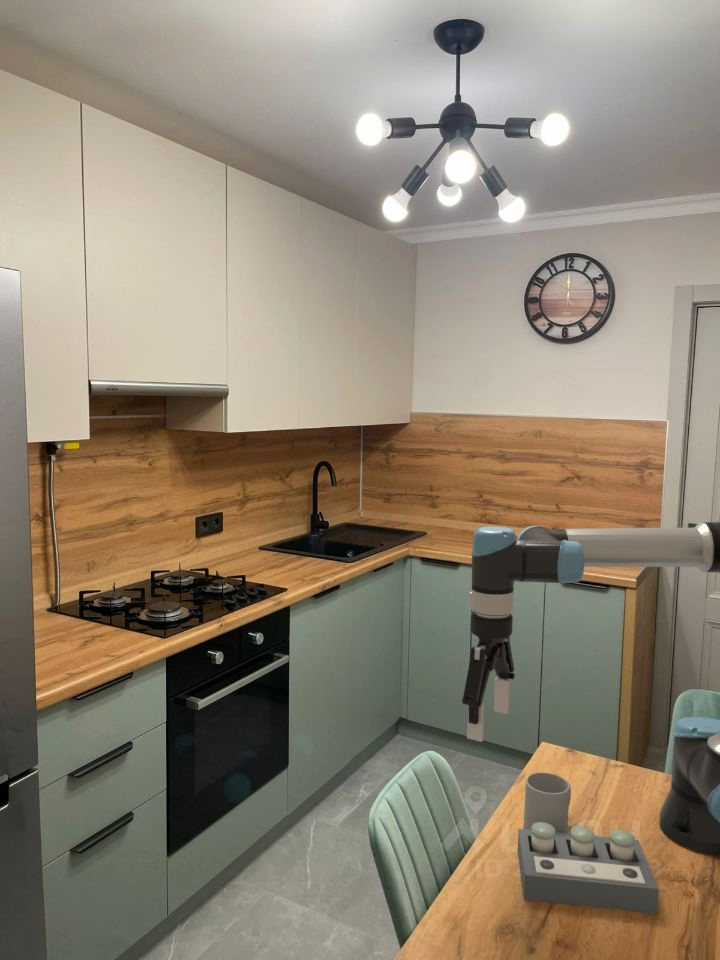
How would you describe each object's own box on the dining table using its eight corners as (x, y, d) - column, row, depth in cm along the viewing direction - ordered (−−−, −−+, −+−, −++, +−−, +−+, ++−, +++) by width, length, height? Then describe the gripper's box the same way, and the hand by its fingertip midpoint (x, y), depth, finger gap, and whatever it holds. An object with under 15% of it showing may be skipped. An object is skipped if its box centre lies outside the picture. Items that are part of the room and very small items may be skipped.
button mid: (591, 849, 134) (592, 827, 134) (595, 863, 130) (596, 840, 130) (567, 846, 135) (569, 824, 135) (571, 860, 131) (572, 838, 130)
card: (638, 868, 127) (638, 865, 127) (645, 884, 123) (645, 881, 123) (533, 857, 129) (533, 855, 129) (536, 873, 125) (536, 870, 125)
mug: (551, 853, 138) (553, 799, 137) (514, 833, 145) (516, 781, 143) (585, 830, 146) (588, 778, 145) (549, 812, 152) (551, 762, 151)
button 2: (630, 852, 133) (631, 830, 133) (636, 867, 129) (637, 844, 129) (606, 850, 134) (608, 828, 134) (611, 864, 130) (612, 841, 129)
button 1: (552, 845, 135) (553, 823, 135) (555, 858, 131) (556, 836, 131) (529, 842, 136) (530, 821, 135) (531, 856, 132) (532, 834, 131)
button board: (637, 862, 136) (638, 840, 135) (657, 914, 122) (658, 889, 122) (517, 850, 139) (518, 828, 138) (523, 899, 125) (525, 874, 125)
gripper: (495, 594, 144) (492, 697, 146) (444, 626, 123) (442, 746, 125) (532, 600, 140) (529, 705, 143) (486, 634, 119) (483, 757, 121)
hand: (488, 725), depth 134 cm, fingers open, 13 cm apart
